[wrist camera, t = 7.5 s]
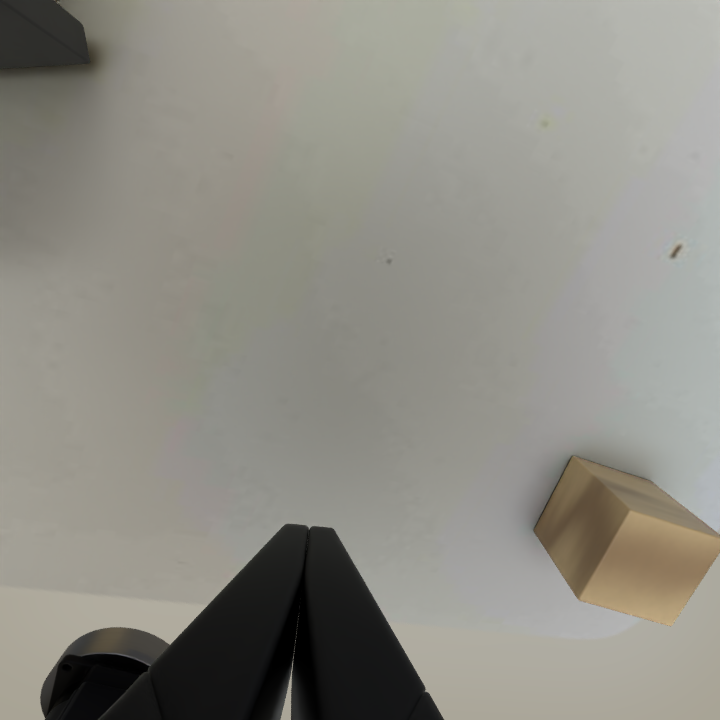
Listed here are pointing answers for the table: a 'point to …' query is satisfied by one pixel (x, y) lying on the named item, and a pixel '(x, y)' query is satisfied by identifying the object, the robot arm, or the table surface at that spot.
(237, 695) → the robot arm
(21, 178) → the table surface
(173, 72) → the table surface
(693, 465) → the table surface
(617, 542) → the block
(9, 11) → the drawer
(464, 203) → the table surface
